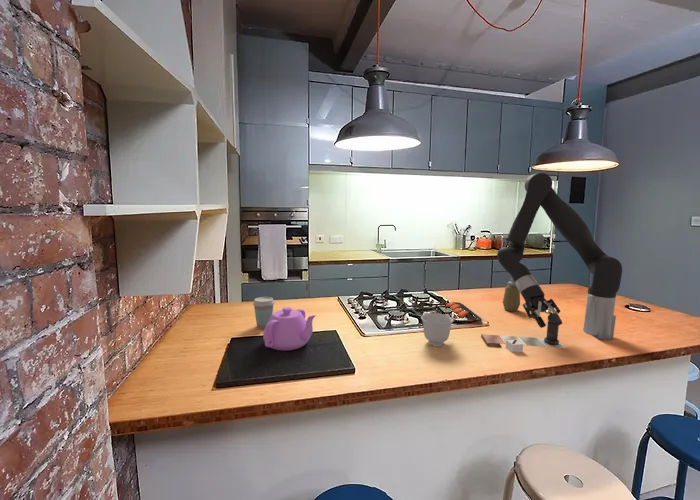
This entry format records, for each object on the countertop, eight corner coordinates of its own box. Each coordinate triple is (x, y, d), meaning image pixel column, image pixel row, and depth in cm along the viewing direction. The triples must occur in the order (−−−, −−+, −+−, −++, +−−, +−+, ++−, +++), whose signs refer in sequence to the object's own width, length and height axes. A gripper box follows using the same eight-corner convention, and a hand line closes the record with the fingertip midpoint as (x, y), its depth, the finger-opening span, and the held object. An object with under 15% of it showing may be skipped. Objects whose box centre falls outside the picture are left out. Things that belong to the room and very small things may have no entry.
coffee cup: (278, 326, 143) (278, 299, 142) (260, 332, 137) (260, 303, 136) (267, 321, 149) (266, 295, 148) (249, 326, 143) (249, 299, 141)
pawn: (555, 340, 131) (558, 311, 129) (561, 345, 126) (564, 315, 125) (541, 339, 132) (544, 311, 130) (547, 344, 127) (550, 315, 125)
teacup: (461, 341, 132) (463, 316, 130) (441, 353, 121) (443, 326, 120) (434, 332, 140) (435, 309, 139) (413, 342, 129) (414, 317, 128)
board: (555, 341, 133) (555, 338, 133) (566, 351, 124) (567, 348, 124) (481, 336, 137) (481, 333, 136) (487, 346, 128) (487, 342, 128)
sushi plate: (484, 325, 152) (485, 316, 151) (418, 325, 150) (418, 316, 149) (459, 305, 180) (460, 298, 180) (404, 305, 179) (404, 298, 178)
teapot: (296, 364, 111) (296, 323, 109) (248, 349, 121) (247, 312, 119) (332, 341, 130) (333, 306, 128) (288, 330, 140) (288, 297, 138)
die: (515, 350, 125) (516, 338, 124) (522, 354, 121) (523, 343, 120) (505, 350, 124) (506, 339, 123) (511, 355, 120) (512, 343, 119)
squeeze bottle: (503, 306, 178) (506, 272, 176) (520, 309, 173) (524, 275, 171) (500, 310, 172) (503, 275, 169) (517, 313, 167) (521, 277, 164)
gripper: (522, 285, 132) (545, 323, 123) (548, 282, 137) (572, 319, 128) (510, 294, 138) (531, 332, 129) (536, 292, 143) (558, 328, 134)
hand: (552, 325), depth 128 cm, fingers open, 8 cm apart
